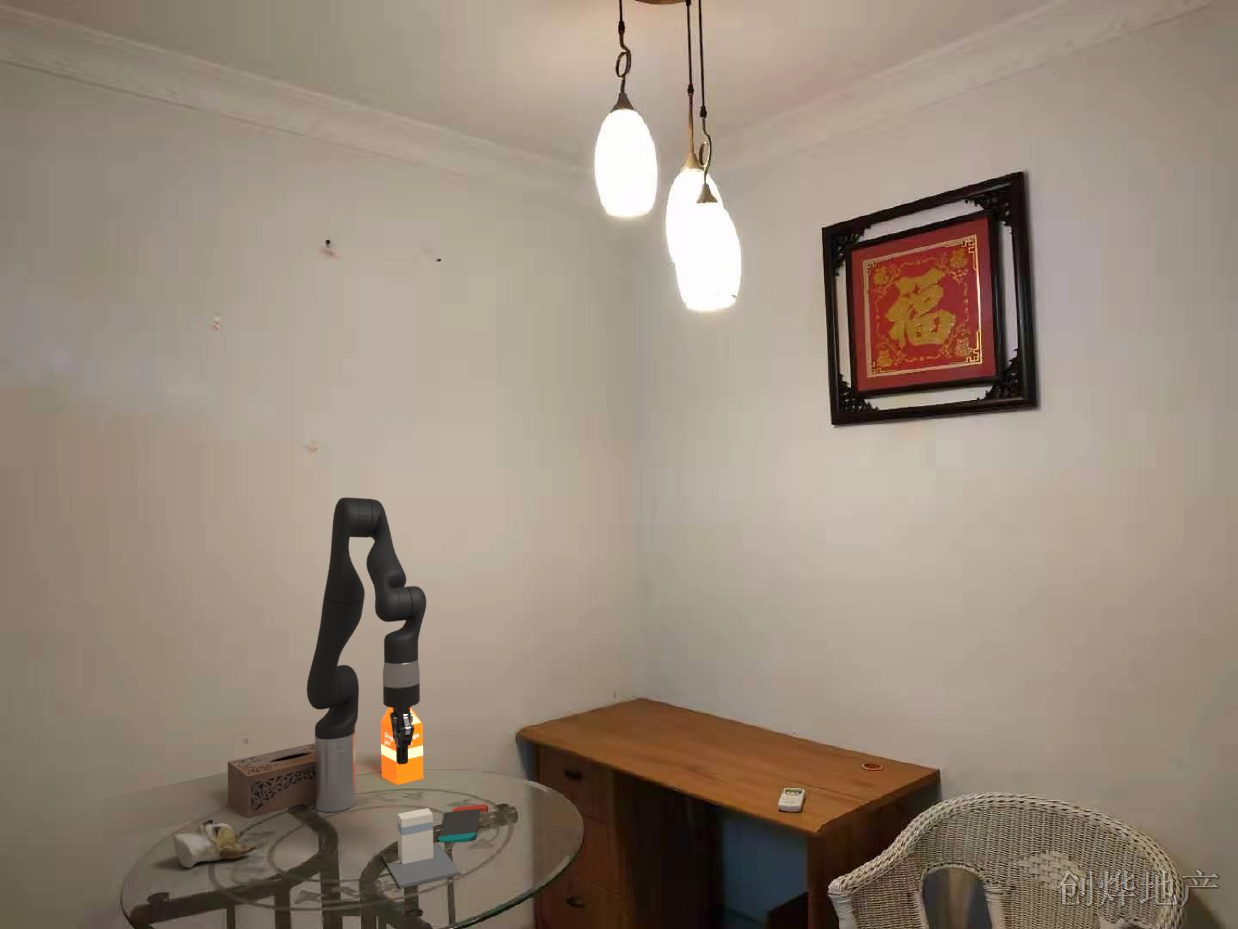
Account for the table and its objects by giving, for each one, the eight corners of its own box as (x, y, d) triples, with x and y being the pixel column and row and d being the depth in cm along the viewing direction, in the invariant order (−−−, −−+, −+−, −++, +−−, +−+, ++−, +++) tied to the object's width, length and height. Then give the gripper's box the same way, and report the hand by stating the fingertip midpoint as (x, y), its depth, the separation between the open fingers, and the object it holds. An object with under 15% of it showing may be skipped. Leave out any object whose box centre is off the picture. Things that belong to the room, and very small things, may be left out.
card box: (398, 857, 185) (397, 814, 185) (428, 851, 188) (428, 808, 188) (402, 864, 182) (401, 819, 182) (433, 857, 184) (432, 814, 185)
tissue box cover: (329, 778, 237) (329, 740, 237) (353, 792, 226) (352, 752, 226) (228, 802, 220) (227, 761, 220) (248, 819, 209) (247, 776, 209)
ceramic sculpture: (168, 818, 187) (244, 805, 196) (166, 860, 186) (241, 845, 195) (180, 835, 178) (258, 820, 187) (177, 879, 178) (255, 862, 187)
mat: (381, 857, 186) (381, 854, 186) (437, 845, 192) (437, 842, 192) (399, 888, 172) (399, 885, 172) (460, 874, 178) (460, 871, 178)
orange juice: (408, 770, 241) (407, 695, 241) (423, 778, 235) (422, 701, 235) (380, 776, 236) (379, 700, 236) (396, 785, 230) (395, 707, 230)
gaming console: (437, 846, 193) (484, 841, 194) (437, 841, 193) (483, 836, 194) (446, 812, 212) (488, 808, 213) (445, 808, 212) (488, 803, 213)
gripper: (426, 686, 185) (427, 770, 185) (412, 672, 197) (412, 751, 197) (389, 691, 182) (390, 776, 182) (377, 676, 194) (378, 756, 194)
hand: (402, 763), depth 190 cm, fingers closed
